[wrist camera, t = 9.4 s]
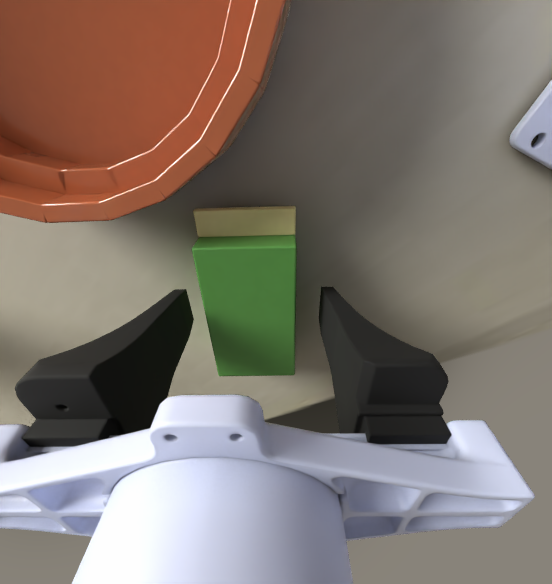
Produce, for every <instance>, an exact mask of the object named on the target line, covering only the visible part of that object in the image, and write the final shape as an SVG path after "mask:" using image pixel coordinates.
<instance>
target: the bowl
mask: <svg viewBox="0 0 552 584" xmlns="http://www.w3.org/2000/svg"><path fill="white" fill-rule="evenodd" d="M290 5H291V0H0V213H4V214H8V215H13V216H18V217H22V218H27V219H31V220H36V221H40V222H45V223H48V222H49V223H59V222H84V221H109V220H114V219H117V218H119V217H122V216H125V215H127V214H130V213H133V212H135V211H138V210H141V209H143V208H146V207H149V206H151V205H154V204H157V203H159V202H162V201H165V200H166V199H168V198H169V197H171V196H172V195H173V194H175V193H176V192H177V191H179V190H180V189H181V188H183V187H184V186H185V185H186V184H188V183H189V182H190V181H192V180H193V179H194V178H195V177H196V176H197V175H199V174H200V173H201V172H202V171H203V170H204V169H206V168H207V167H208V166H209V165H210V164H212V163H213V162H214V161H215V160H216V159H217V158H219V157H220V156H221V155H222V154H223V153H224V152H226V151H227V150H228V149H229V147H231V145H232V144H233V142H234V140H235V139H236V137H237V136H238V134H239V132H240V131H241V129H242V127H243V126H244V124H245V123H246V121H247V119H248V118H249V116H250V115H251V113H252V111H253V110H254V108H255V107H256V105H257V103H258V102H259V100H260V99H261V97H262V95H263V93H264V92H263V91H265V89H266V86H267V83H268V79H269V76H270V73H271V70H272V66H273V63H274V60H275V57H276V54H277V50H278V47H279V44H280V41H281V37H282V34H283V31H284V28H285V24H286V21H287V18H288V15H289V11H290Z"/></svg>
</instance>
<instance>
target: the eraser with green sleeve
mask: <svg viewBox="0 0 552 584" xmlns="http://www.w3.org/2000/svg"><path fill="white" fill-rule="evenodd" d="M193 213H194V218H195V223H196V229H197V234H198V237H199V238H198V240H197V241H196V243H195V245H194V246H193V248H192V253H193V258H194V262H195V267H196V272H197V276H198V281H199V286H200V290H201V295H202V300H203V304H204V309H205V314H206V318H207V323H208V328H209V332H210V337H211V342H212V346H213V351H214V356H215V360H216V365H217V370H218V374H219V376H273V375H294V374H295V330H296V265H297V245H296V238H295V222H296V208H295V206H277V207H238V208H199V209H195V210H194V211H193Z"/></svg>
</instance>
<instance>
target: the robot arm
mask: <svg viewBox="0 0 552 584" xmlns="http://www.w3.org/2000/svg"><path fill="white" fill-rule="evenodd" d="M536 135H538V139H537V141H536V143H535V144H534V145H532V146H531V142H532V140H533V138H534V137H535V136H536ZM509 142H510V145H511V146H512V147H513V148H514V149H516V150H518V151H520V152H522V153H523V154H525V155H527V156H529V157H530V158H532V159H534V160H536V161H537V162H539V163H541V164H543V165H544V166H546V167H548V168H550V169H552V80H551V81H550V82H549V84H548V85H547V86H546V88H545V89H544V90H543V92H542V93H541V94H540V96H539V97H538V98H537V99H536V101H535V102H534V103H533V105H532V106H531V107H530V109H529V110H528V111H527V113H526V114H525V115H524V117H523V118H522V119H521V120H520V122H519V123H518V124H517V126H516V127H515V128H514V130H513V131H512V133H511V135H510V139H509ZM193 320H194V319H193V315H192V311H191V307H190V303H189V299H188V295H187V291H186V289H184V290H174V291H172V292H171V293H169V294H168V295H166V296H165V297H164V298H162V299H161V300H160V301H158V302H157V303H156V304H154V305H153V306H152V307H150V308H149V309H148V310H146V311H145V312H143V313H142V314H140V315H139V316H137V317H136V318H134V319H133V320H131V321H130V322H128V323H127V324H125V325H123V326H121V327H120V328H118V329H116V330H114V331H112V332H110V333H108V334H106V335H104V336H102V337H100V338H98V339H96V340H94V341H91V342H89V343H86V344H84V345H82V346H79V347H76V348H74V349H71V350H68V351H66V352H63V353H59V354H56V355H53V356H50V357H47V358H44V359H40V360H39V361H38V362H37V363H36V364H35V365H34V366H33V367H32V368H31V369H30V370H29V371H28V372H27V373H26V374H25V375H24V376H23V377H22V378H21V379H20V380H19V382H18V383H17V384H16V387H15V391H16V395H17V397H18V398H19V400H20V401H21V402H22V404H23V405H24V406H25V407H26V408H27V409H28V410H29V411H30V413H31V414H32V415H33V416H34V417H35V418H36V420H35V422H34V423H33V424H32V426H31V427H29V426H26V425H23V424H0V528H7V529H25V530H35V531H47V532H55V533H64V534H73V535H82V536H91V537H92V539H91V541H90V544H89V546H88V548H87V550H86V553H85V555H84V557H83V559H82V562H81V564H80V566H79V569H78V571H77V573H76V576H75V578H74V580H73V582H72V584H353V580H352V573H351V568H350V561H349V554H348V548H347V542H346V541H349V540H358V539H365V538H375V537H384V536H392V535H401V534H409V533H418V532H426V531H437V530H448V529H463V528H499V527H501V526H502V525H504V524H505V523H506V522H507V521H508V520H509V519H510V518H512V517H513V516H514V515H515V514H516V513H518V512H519V511H520V510H521V509H522V508H523V507H525V506H526V505H527V504H528V503H529V502H531V501H532V500H533V499H534V497H535V495H534V493H533V492H532V490H531V489H530V487H529V486H528V484H527V483H526V482H525V480H524V479H523V477H522V475H521V474H520V472H519V471H518V470H517V468H516V467H515V465H514V464H513V462H512V461H511V459H510V458H509V456H508V455H507V453H506V452H505V450H504V449H503V447H502V446H501V444H500V443H499V441H498V440H497V438H496V437H495V435H494V434H493V432H492V431H491V430H490V428H489V426H488V425H487V423H486V422H485V421H483V420H454V421H451V422H448V423H447V424H446V423H445V422H444V420H443V418H442V416H441V415H443V409H442V408H441V406H440V404H439V402H440V399H441V398H442V396H443V394H444V392H445V390H446V387H447V384H448V376H447V375H446V373H445V371H444V370H443V368H442V366H441V365H440V363H439V362H438V360H437V359H436V358H435V356H434V355H433V354H431V353H429V352H426V351H424V350H421V349H418V348H416V347H413V346H411V345H409V344H407V343H405V342H402V341H400V340H398V339H396V338H395V337H393V336H391V335H389V334H387V333H386V332H384V331H382V330H381V329H379V328H378V327H376V326H375V325H373V324H372V323H371V322H369V321H368V320H366V319H365V318H364V317H363V316H362V315H360V314H359V313H358V312H357V311H356V310H355V309H354V308H353V307H352V306H351V305H350V304H348V303H347V301H346V300H345V299H344V298H343V297H342V296H341V295H340V294H339V293H338V292H337V291H336V289H335V288H334V287H321V295H320V308H319V323H320V330H321V336H322V339H323V343H324V347H325V351H326V354H327V358H328V362H329V365H330V370H331V374H332V380H333V387H334V394H335V401H336V408H337V415H338V423H339V431H340V434H322V433H317V432H312V431H307V430H301V429H297V428H291V427H286V426H282V425H276V424H271V423H266V422H264V418H263V410H262V408H261V406H260V404H259V403H258V402H257V401H255V400H253V399H252V398H250V397H248V396H243V395H236V394H235V395H178V396H173V397H169V398H167V396H168V392H169V389H170V385H171V382H172V378H173V375H174V372H175V370H176V367H177V365H178V362H179V360H180V358H181V355H182V353H183V351H184V348H185V346H186V343H187V341H188V338H189V336H190V332H191V329H192V324H193Z"/></svg>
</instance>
